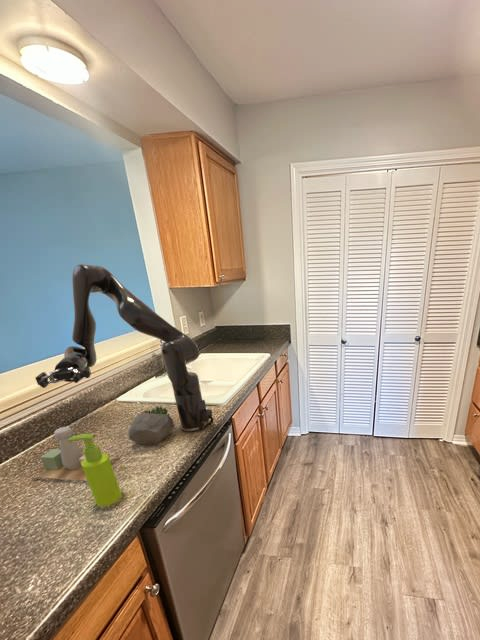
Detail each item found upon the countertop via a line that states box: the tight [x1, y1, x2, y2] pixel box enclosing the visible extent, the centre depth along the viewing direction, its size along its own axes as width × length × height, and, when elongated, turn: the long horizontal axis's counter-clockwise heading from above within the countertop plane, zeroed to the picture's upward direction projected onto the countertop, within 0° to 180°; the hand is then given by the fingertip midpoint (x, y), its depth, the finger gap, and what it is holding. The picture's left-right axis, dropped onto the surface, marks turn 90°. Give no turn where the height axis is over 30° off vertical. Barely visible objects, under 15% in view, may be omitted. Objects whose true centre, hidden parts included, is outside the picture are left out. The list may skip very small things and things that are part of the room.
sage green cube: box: [40, 448, 63, 470], centre depth 99 cm, size 4×4×4 cm
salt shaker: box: [53, 426, 84, 470], centre depth 97 cm, size 6×6×13 cm
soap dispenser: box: [68, 433, 122, 508], centre depth 81 cm, size 6×7×20 cm
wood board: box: [34, 455, 116, 481], centre depth 99 cm, size 18×12×1 cm, turn 82°
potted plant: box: [128, 405, 175, 446], centre depth 113 cm, size 12×13×15 cm
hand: (59, 382), depth 99 cm, fingers open, 8 cm apart
